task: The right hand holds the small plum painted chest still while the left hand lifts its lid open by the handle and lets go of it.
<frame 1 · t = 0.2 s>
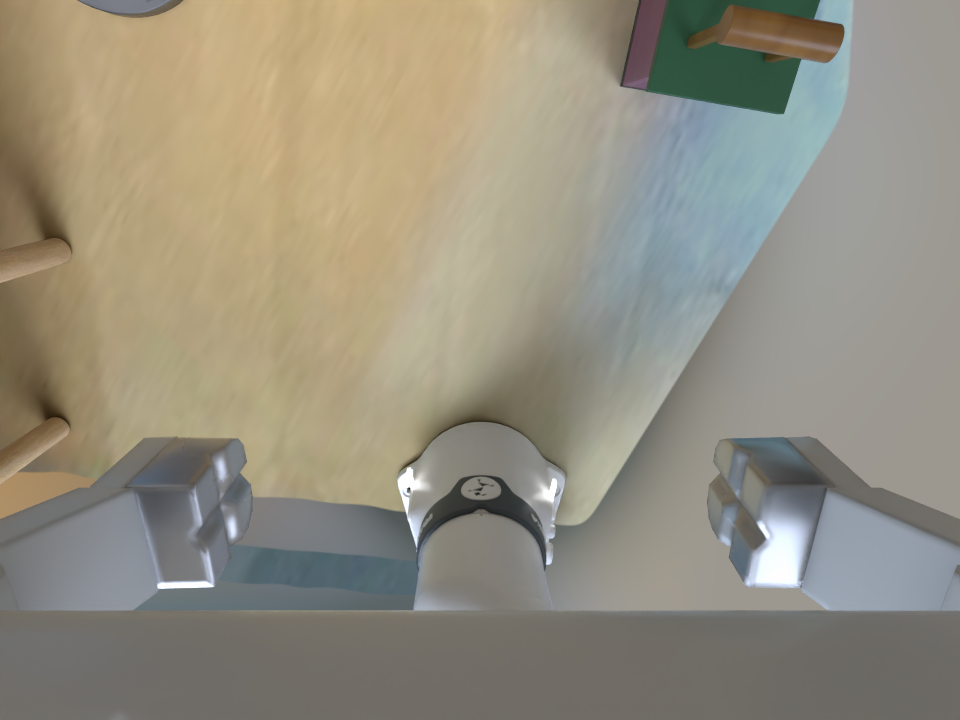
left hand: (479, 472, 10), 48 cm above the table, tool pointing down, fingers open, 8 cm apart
chest: (697, 13, 49), on the table
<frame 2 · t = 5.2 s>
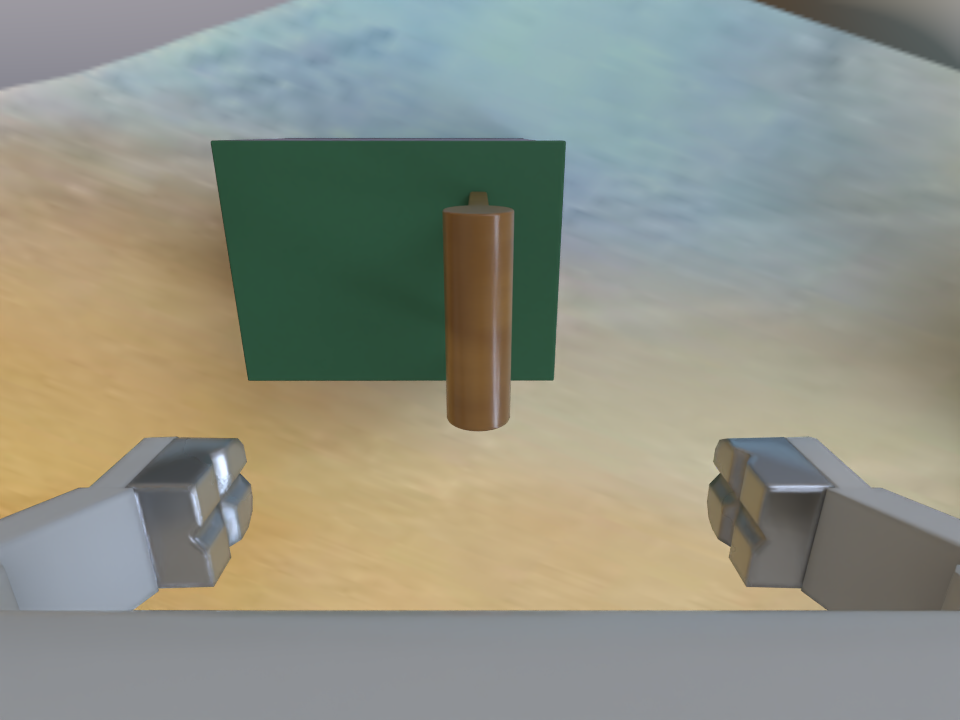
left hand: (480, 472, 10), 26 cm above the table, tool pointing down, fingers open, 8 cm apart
lid: (381, 291, 21), point 14 cm above the table, hinge at 0.0°
chest: (409, 231, 34), on the table
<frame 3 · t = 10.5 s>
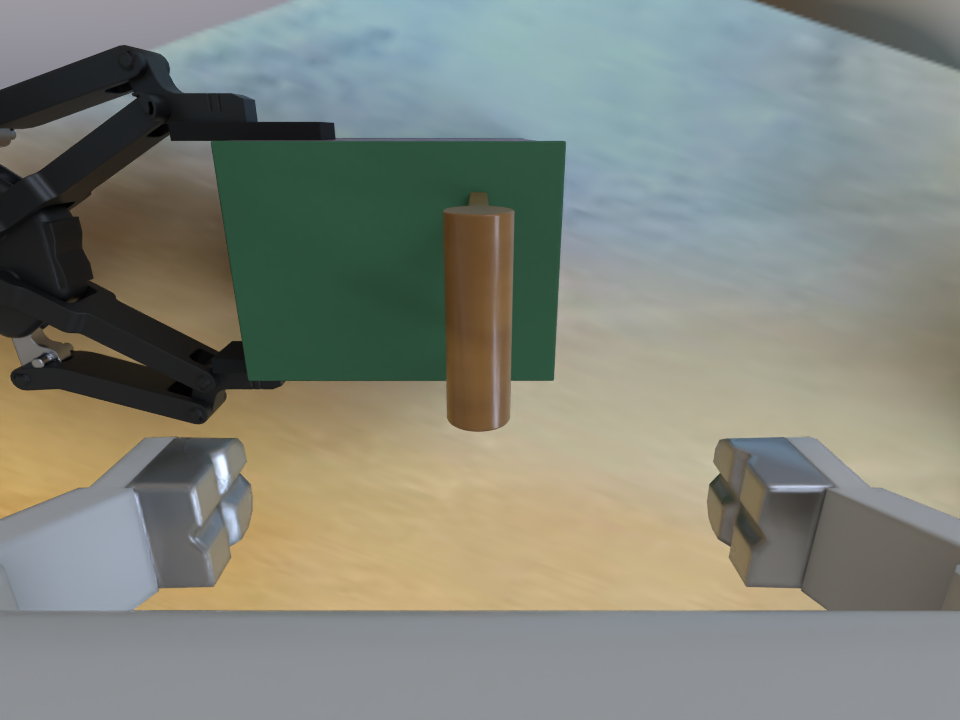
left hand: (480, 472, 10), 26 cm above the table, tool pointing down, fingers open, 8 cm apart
right hand: (338, 251, 28), fingers closed on chest, 10 cm apart
lid: (382, 291, 21), point 14 cm above the table, hinge at 0.0°
chest: (409, 231, 34), on the table, touching right hand
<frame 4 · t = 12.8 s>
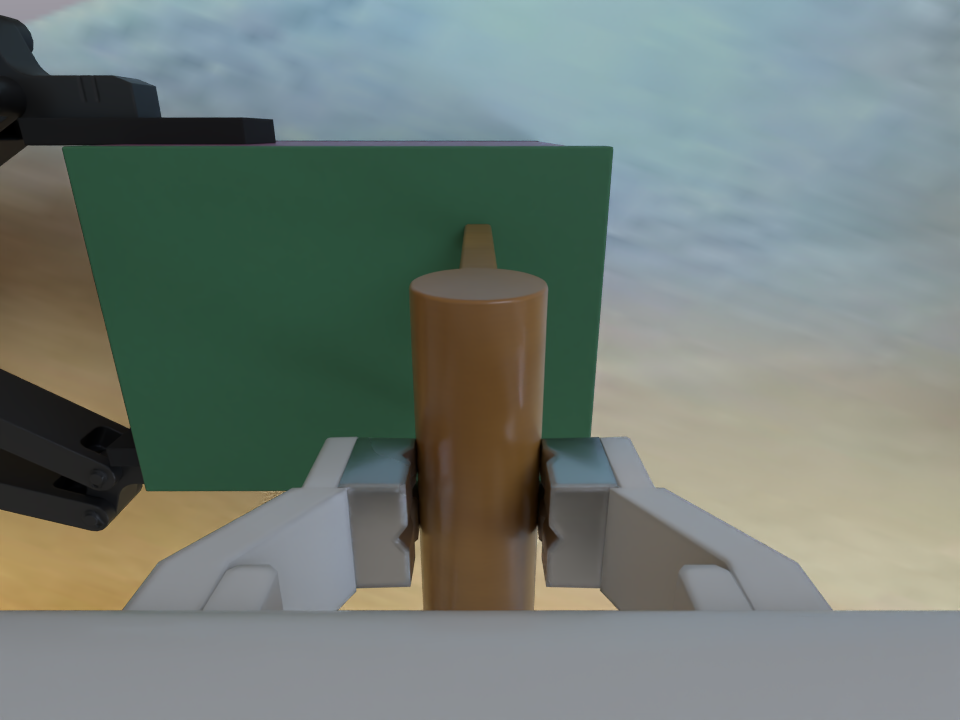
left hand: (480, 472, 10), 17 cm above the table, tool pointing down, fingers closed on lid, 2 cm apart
lid: (322, 390, 13), point 14 cm above the table, hinge at -0.1°, touching left hand
chest: (388, 263, 26), on the table, touching right hand
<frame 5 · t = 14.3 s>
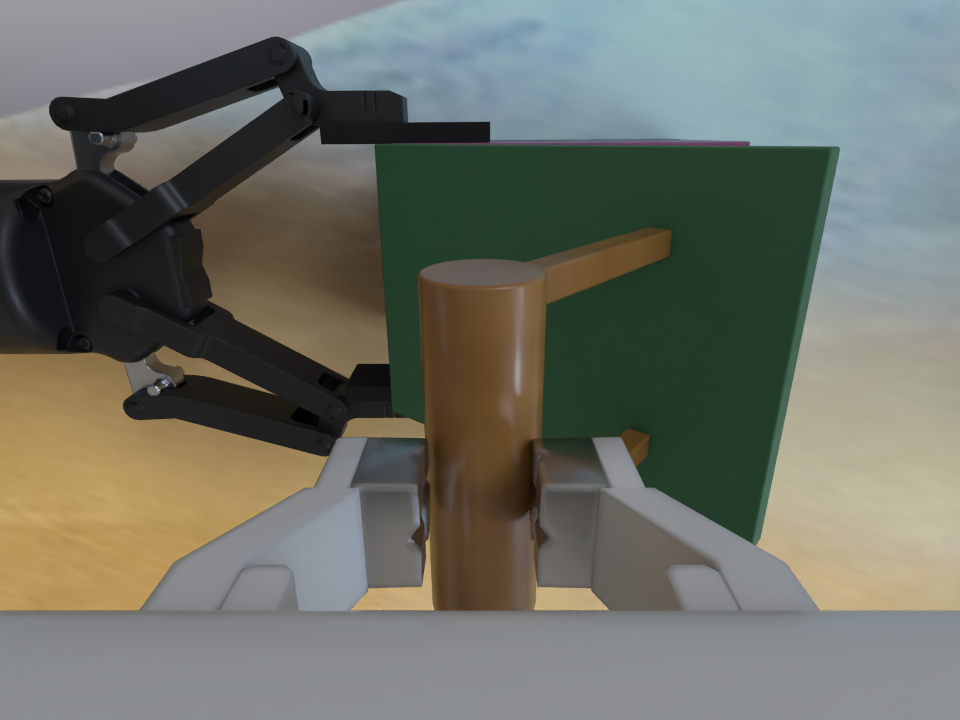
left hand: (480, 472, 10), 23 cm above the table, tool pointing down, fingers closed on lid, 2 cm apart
right hand: (490, 266, 25), fingers closed on chest, 10 cm apart
lid: (461, 356, 15), point 17 cm above the table, hinge at 38.1°, touching left hand
chest: (542, 242, 31), on the table, touching right hand
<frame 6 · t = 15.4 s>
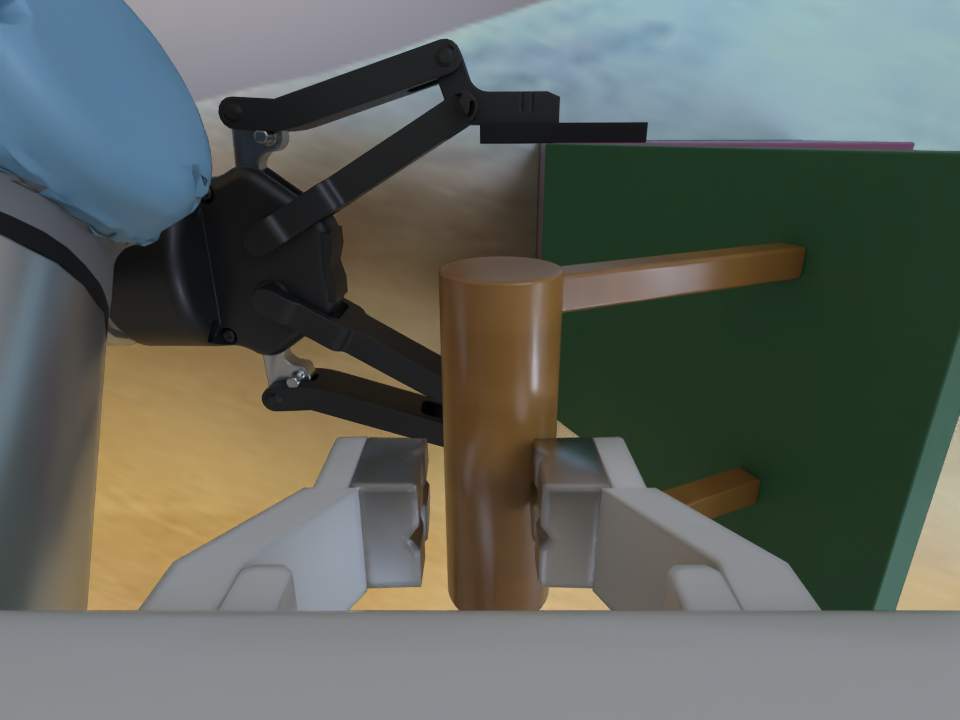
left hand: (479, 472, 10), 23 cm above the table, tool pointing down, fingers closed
right hand: (627, 264, 26), fingers closed on chest, 10 cm apart
lid: (557, 356, 15), point 18 cm above the table, hinge at 62.9°, touching left hand
chest: (655, 241, 32), on the table, touching right hand
when the right hand's fingers open (6 cm above the table, at t = 19.4 s): chest stays where it is, on the table.
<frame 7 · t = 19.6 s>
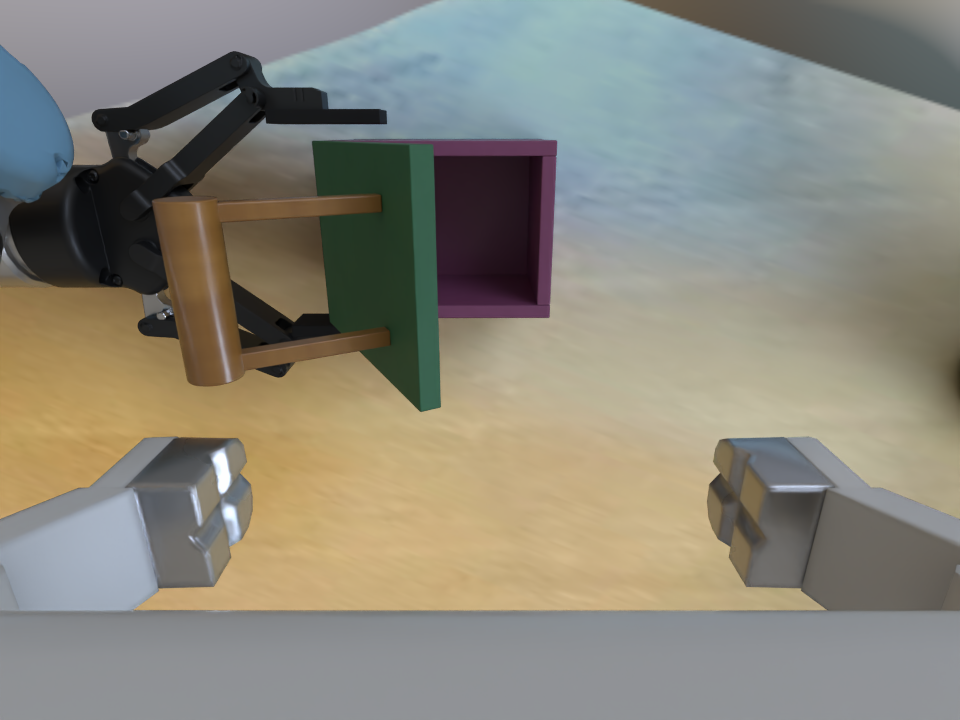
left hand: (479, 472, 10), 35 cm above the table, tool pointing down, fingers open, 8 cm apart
right hand: (390, 227, 37), fingers open, 12 cm apart
lid: (280, 265, 26), point 18 cm above the table, hinge at 61.6°
chest: (449, 214, 42), on the table
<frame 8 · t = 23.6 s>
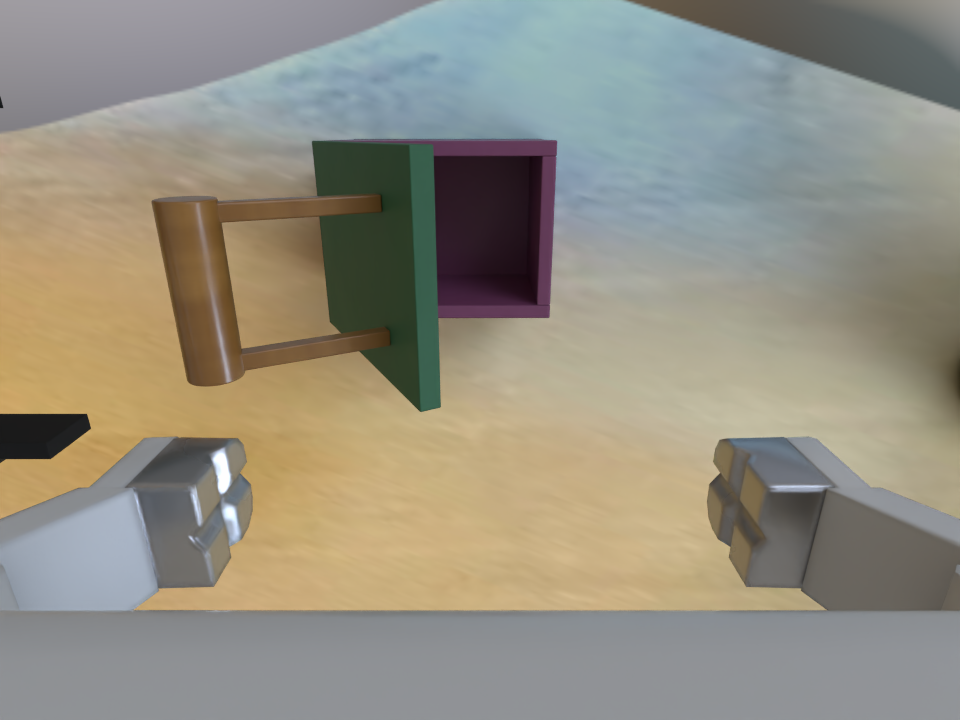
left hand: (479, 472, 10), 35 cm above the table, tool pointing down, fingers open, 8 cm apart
lid: (280, 265, 26), point 18 cm above the table, hinge at 61.6°
chest: (449, 214, 42), on the table
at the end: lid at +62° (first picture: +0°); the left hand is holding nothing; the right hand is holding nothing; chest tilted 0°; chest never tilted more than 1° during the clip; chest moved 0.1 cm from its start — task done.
